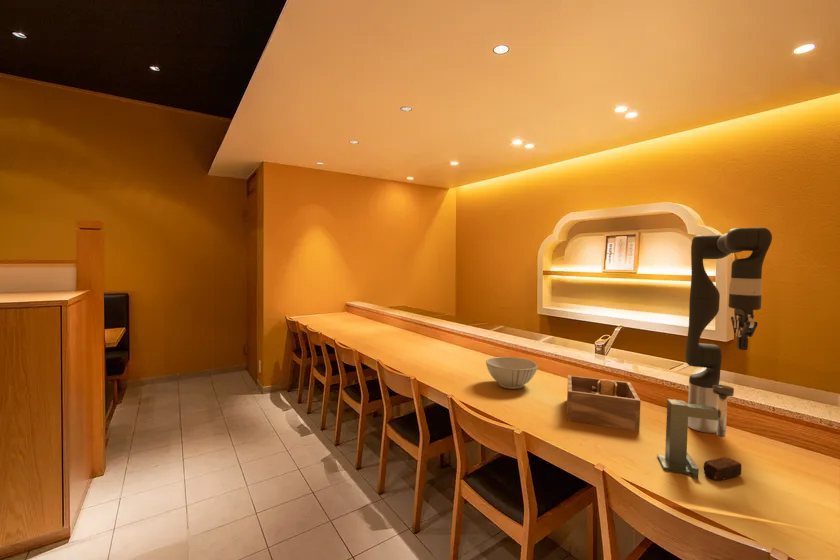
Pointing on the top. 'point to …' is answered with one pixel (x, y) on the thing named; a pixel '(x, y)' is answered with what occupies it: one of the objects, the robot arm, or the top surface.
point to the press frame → (682, 436)
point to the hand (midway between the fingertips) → (741, 349)
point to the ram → (722, 406)
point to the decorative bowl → (511, 371)
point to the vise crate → (602, 404)
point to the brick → (722, 468)
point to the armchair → (605, 388)
